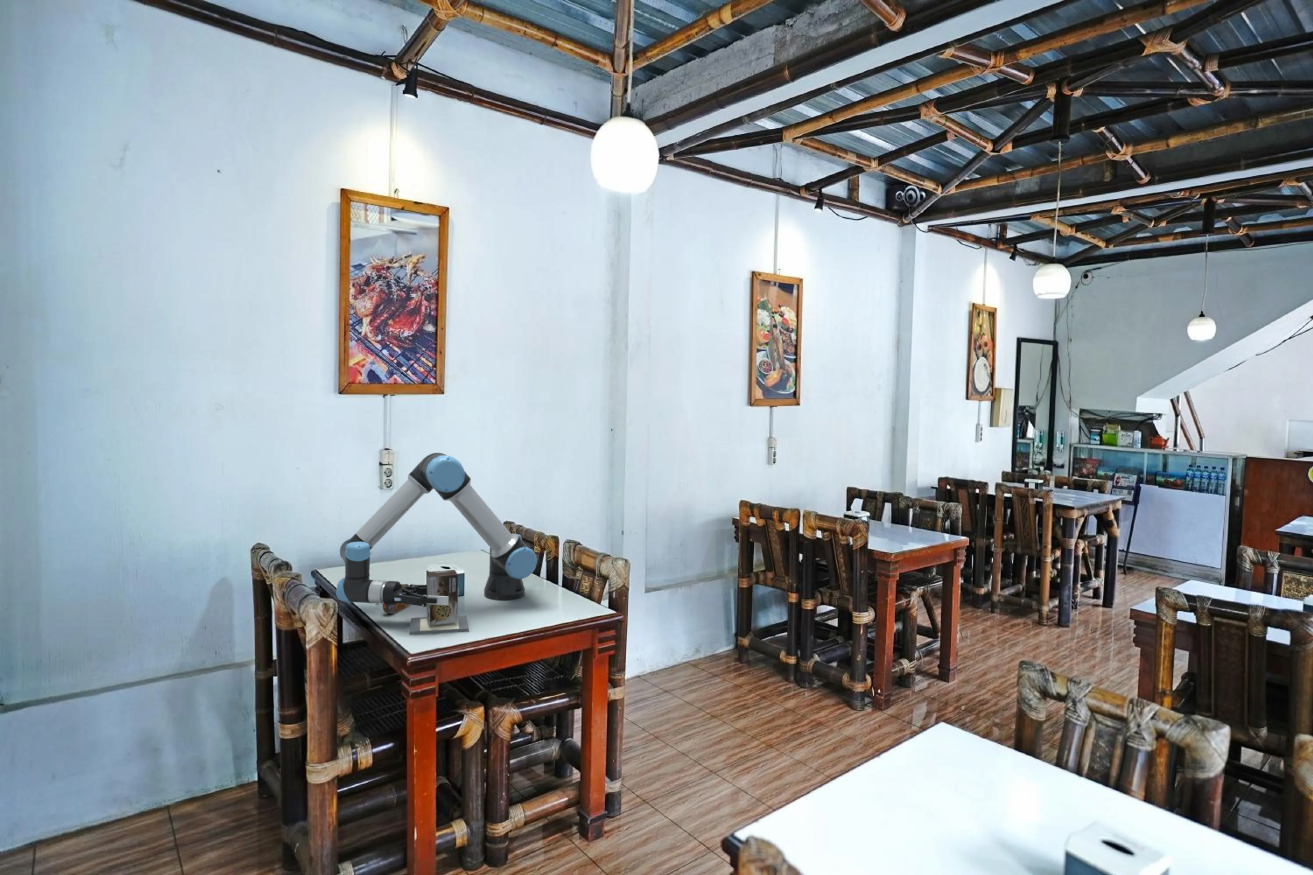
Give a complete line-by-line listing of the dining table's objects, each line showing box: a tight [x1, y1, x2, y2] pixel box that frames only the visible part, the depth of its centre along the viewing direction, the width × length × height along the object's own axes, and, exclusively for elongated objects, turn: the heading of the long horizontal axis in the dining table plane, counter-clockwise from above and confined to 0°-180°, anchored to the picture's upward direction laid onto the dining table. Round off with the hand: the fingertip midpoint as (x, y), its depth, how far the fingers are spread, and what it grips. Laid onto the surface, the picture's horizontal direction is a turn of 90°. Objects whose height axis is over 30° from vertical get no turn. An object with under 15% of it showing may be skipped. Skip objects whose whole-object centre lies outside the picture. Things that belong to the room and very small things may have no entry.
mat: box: [409, 614, 470, 636], centre depth 244 cm, size 18×14×1 cm
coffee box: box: [426, 569, 459, 625], centre depth 243 cm, size 9×6×16 cm
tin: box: [382, 583, 410, 615], centre depth 259 cm, size 15×3×8 cm, turn 168°
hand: (453, 596), depth 242 cm, fingers closed on coffee box, 9 cm apart
